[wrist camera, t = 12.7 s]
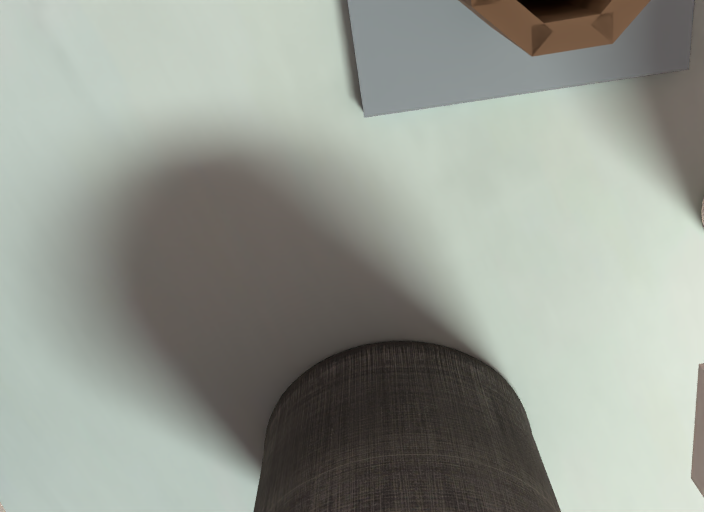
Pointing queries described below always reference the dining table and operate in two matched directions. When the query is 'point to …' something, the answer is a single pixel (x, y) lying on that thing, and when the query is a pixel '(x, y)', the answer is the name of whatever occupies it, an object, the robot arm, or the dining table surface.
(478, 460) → the planter
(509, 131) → the dining table surface
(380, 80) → the post block
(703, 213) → the cup
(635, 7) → the collar
